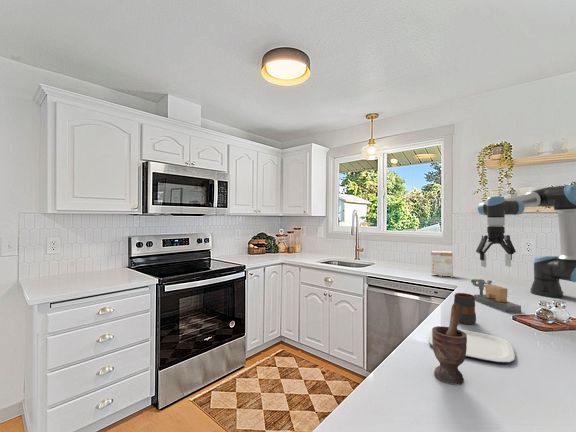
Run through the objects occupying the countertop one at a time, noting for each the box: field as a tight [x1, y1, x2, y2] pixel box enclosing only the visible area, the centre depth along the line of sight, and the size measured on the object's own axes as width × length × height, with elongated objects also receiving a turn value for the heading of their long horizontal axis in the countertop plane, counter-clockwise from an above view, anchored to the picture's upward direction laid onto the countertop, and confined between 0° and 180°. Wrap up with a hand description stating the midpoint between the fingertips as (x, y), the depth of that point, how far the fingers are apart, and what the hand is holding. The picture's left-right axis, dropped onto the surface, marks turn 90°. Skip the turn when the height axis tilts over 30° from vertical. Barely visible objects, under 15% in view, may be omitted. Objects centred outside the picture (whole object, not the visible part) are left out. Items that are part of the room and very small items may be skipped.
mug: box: [453, 292, 477, 326], centre depth 132 cm, size 9×12×12 cm
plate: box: [428, 328, 516, 364], centre depth 106 cm, size 25×25×2 cm
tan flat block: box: [484, 283, 508, 303], centre depth 156 cm, size 4×10×10 cm, turn 5°
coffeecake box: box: [430, 250, 454, 276], centre depth 238 cm, size 15×7×20 cm, turn 58°
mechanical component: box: [470, 278, 493, 295], centre depth 173 cm, size 3×10×10 cm, turn 79°
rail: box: [473, 294, 522, 313], centre depth 156 cm, size 8×22×3 cm, turn 5°
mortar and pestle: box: [431, 302, 467, 385], centre depth 86 cm, size 12×9×20 cm
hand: (495, 266), depth 156 cm, fingers open, 13 cm apart
